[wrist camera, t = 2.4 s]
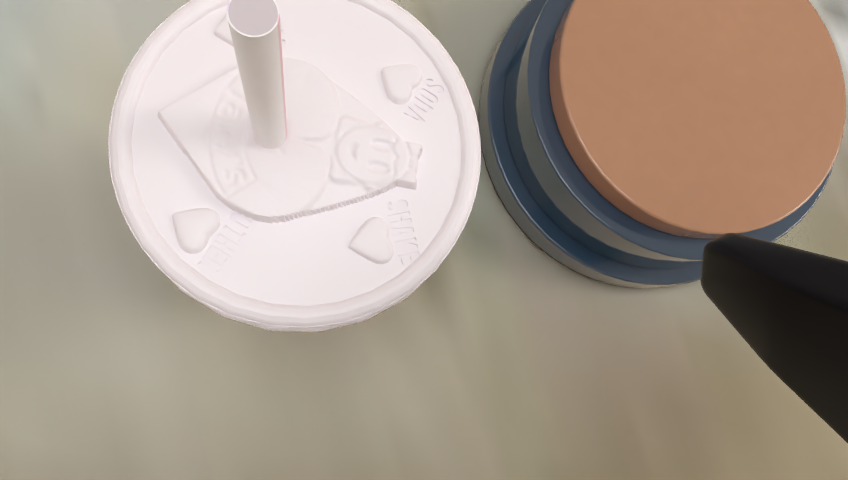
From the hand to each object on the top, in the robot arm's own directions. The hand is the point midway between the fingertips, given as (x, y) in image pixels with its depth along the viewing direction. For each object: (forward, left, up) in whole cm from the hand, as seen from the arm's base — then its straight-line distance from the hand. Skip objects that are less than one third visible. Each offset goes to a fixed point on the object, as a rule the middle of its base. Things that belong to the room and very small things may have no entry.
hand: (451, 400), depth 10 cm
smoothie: (+4, -2, -12) cm, 13 cm away
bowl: (-3, -12, -12) cm, 17 cm away
